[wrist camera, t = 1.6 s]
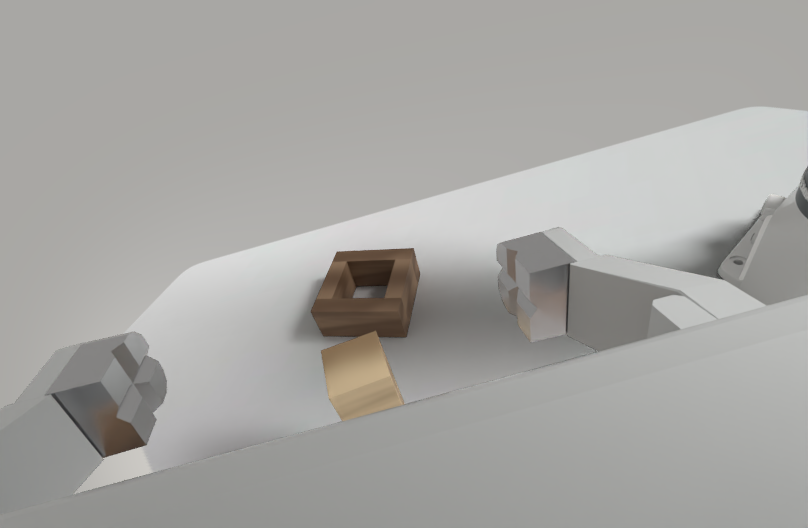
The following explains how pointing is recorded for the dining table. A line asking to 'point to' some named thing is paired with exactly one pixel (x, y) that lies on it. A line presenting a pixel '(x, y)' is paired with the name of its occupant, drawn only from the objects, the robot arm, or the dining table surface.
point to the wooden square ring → (368, 314)
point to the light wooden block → (360, 377)
